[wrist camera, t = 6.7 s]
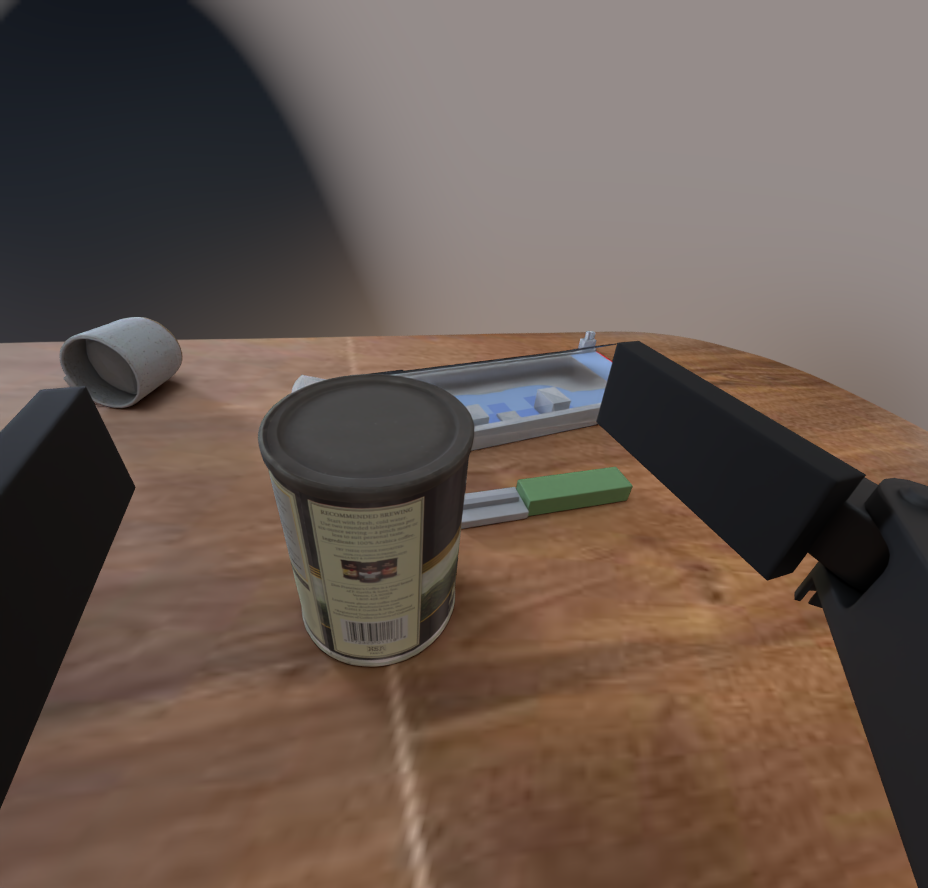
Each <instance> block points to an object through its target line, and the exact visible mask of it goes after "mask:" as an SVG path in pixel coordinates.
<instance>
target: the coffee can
mask: <svg viewBox="0 0 928 888" xmlns="http://www.w3.org/2000/svg"><path fill="white" fill-rule="evenodd" d="M473 440H474V422H473V419H472V416H471V414H470V412H469V411H468V409H467V408H466V407H465V406H464V404H463V403H462V402H460V401H459V400H458V399H457V398H456V397H455V396H453V395H451V394H450V393H449V392H447V391H445V390H444V389H442V388H439V387H437V386H435V385H433V384H430V383H427V382H424V381H420V380H416V379H412V378H408V377H402V376H395V375H384V374H361V375H350V376H343V377H337V378H332V379H327V380H323V381H320V382H316V383H313V384H311V385H308V386H305V387H303V388H301V389H298V390H296V391H294V392H293V393H291V394H289V395H287V396H286V397H284V398H283V399H282V400H280V401H279V402H278V403H276V404H275V405H274V406H273V407H272V408H271V409H270V410H269V411H268V413H267V414H266V415H265V417H264V419H263V420H262V422H261V425H260V427H259V432H258V442H259V448H260V451H261V455H262V458H263V461H264V463H265V464H266V466H267V468H268V470H269V474H270V478H271V482H272V487H273V491H274V495H275V499H276V503H277V507H278V511H279V515H280V519H281V523H282V527H283V532H284V536H285V540H286V544H287V548H288V552H289V557H290V560H291V564H292V568H293V573H294V577H295V581H296V586H297V590H298V594H299V598H300V602H301V606H302V616H303V621H304V624H305V628H306V630H307V632H308V633H309V635H310V637H311V638H312V640H313V641H314V642H315V644H316V645H317V646H318V647H319V648H320V649H321V650H323V651H324V652H325V653H326V654H328V655H329V656H331V657H333V658H335V659H337V660H339V661H341V662H345V663H348V664H350V665H357V666H370V667H373V666H385V665H390V664H394V663H397V662H400V661H403V660H406V659H408V658H410V657H412V656H414V655H417V654H418V653H420V652H421V651H422V650H424V649H425V648H426V647H428V646H429V645H430V644H431V643H432V642H433V641H434V640H435V639H436V638H437V637H438V636H439V635H440V634H441V632H442V631H443V629H444V628H445V626H446V625H447V623H448V621H449V619H450V616H451V614H452V611H453V608H454V603H455V581H456V573H457V561H458V552H459V542H460V532H461V523H462V515H463V505H464V499H465V489H466V479H467V468H468V460H469V454H470V452H471V449H472V445H473Z"/></svg>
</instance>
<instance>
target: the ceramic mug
mask: <svg viewBox="0 0 928 888" xmlns="http://www.w3.org/2000/svg"><path fill="white" fill-rule="evenodd" d="M60 363H61V366H62V369H63V371H64V373H65V375H66V376H65V377H64V380H65V381H66V382H67V384H68V385H69V386H70V387H81V386H86V387H87V389H88V391H89V393H90V396H91V398H92V400H93V401H94V402H96V403H99V404H102V405H104V406H108V407H113V408H125V407H129V406H132V405H134V404H135V403H137V402H138V401H139V400H141V399H142V398H143V397H145V396H146V395H148V394H149V393H150V392H152V391H153V390H154V389H156V388H157V387H158V386H160V385H161V384H162V383H164V382H165V381H167V380H168V379H170V378H171V377H172V376H173V375H174V374H175V373H176V372H177V370H178V369H179V367H180V365H181V363H182V352H181V348H180V345H179V343H178V341H177V340H176V339H175V337H174V336H173V334H172V333H171V332H170V331H169V330H168V329H166V328H165V327H164V326H163V325H161V324H159V323H158V322H156V321H153V320H150V319H147V318H142V317H133V318H124V319H121V320H118V321H115V322H113V323H110V324H107V325H104V326H102V327H99V328H96V329H93V330H90V331H87V332H84V333H81V334H78V335H75V336H73V337H71V338H69V339H68V340H67V341H65V343H64V344H63V346H62V347H61V350H60Z"/></svg>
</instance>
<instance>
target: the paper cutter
mask: <svg viewBox="0 0 928 888" xmlns="http://www.w3.org/2000/svg"><path fill="white" fill-rule="evenodd" d="M594 337H595V332H593V331H592V332H590V331H586V335H585V338H583V339H581V340H580V344H579V348H578V349H573V350H567V351H560V352H552V353H544V354H536V355H528V356H520V357H512V358H504V359H496V360H488V361H479V362H471V363H463V364H455V365H447V366H439V367H431V368H423V369H415V370H407V371H403V370H396V371H388V372H380V373H372V374H384V375H395V376H402V377H408V378H412V379H416V380H420V381H424V382H427V383H430V384H433V385H435V386H437V387H439V388H442V389H444V390H445V391H447V392H449V393H450V394H451V395H453V396H455V397H456V398H457V399H458V400H459V401H460V402H462V403H463V404H464V406H465V407H466V408H467V409H468V411H469V412H470V414H471V416H472V419H473V422H474V440H473V445H472V449H471V451H472V450H477V449H482V448H487V447H491V446H496V445H501V444H506V443H510V442H515V441H520V440H525V439H530V438H534V437H539V436H544V435H549V434H554V433H558V432H563V431H568V430H573V429H577V428H582V427H587V426H592V425H597V424H598V423H597V422H596V420H597V417H598V413H599V409H600V406H601V402H602V398H603V394H604V391H605V387H606V383H607V380H608V376H609V372H610V369H611V365H612V361H611V360H610V359H608V358H607V357H605V356H603V355H602V354H600V353H599V352H597V351H596V349H595V348H598V347H604V346H610V345H615V344H609V345H600V346H595V344H596V340H595V339H594ZM323 380H327V379H321V378H316V377H310V376H305V375H301V376H300V377H299V378H298V379H297V381H296V382H295V384H294V386H293V389H292V393H293V392H294V391H296V390H298V389H301V388H303V387H305V386H308V385H311V384H313V383H316V382H320V381H323Z"/></svg>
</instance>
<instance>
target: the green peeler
mask: <svg viewBox="0 0 928 888" xmlns="http://www.w3.org/2000/svg"><path fill="white" fill-rule="evenodd" d="M632 487H633V486H632V484H631V483H630V482H629V481H628V480H627V479H626V478H625V476H624V475H623V474H622V473H621V472H620V471H619V470H618V469H617V467H610V468H603V469H595V470H588V471H580V472H573V473H565V474H558V475H550V476H543V477H535V478H528V479H520V480H518V482H517V487H516V488H515V487H511V488H503V489H496V490H489V491H482V492H475V493H467V494H465V499H464V505H463V515H462V523H461V529H463V528H469V527H475V526H481V525H488V524H494V523H500V522H506V521H513V520H519V519H525V518H527V517H528V516H532V515H538V514H544V513H551V512H557V511H563V510H569V509H576V508H582V507H588V506H594V505H601V504H607V503H613V502H619V501H626V500H627V499H628V496H629V494H630V492H631V489H632Z"/></svg>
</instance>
